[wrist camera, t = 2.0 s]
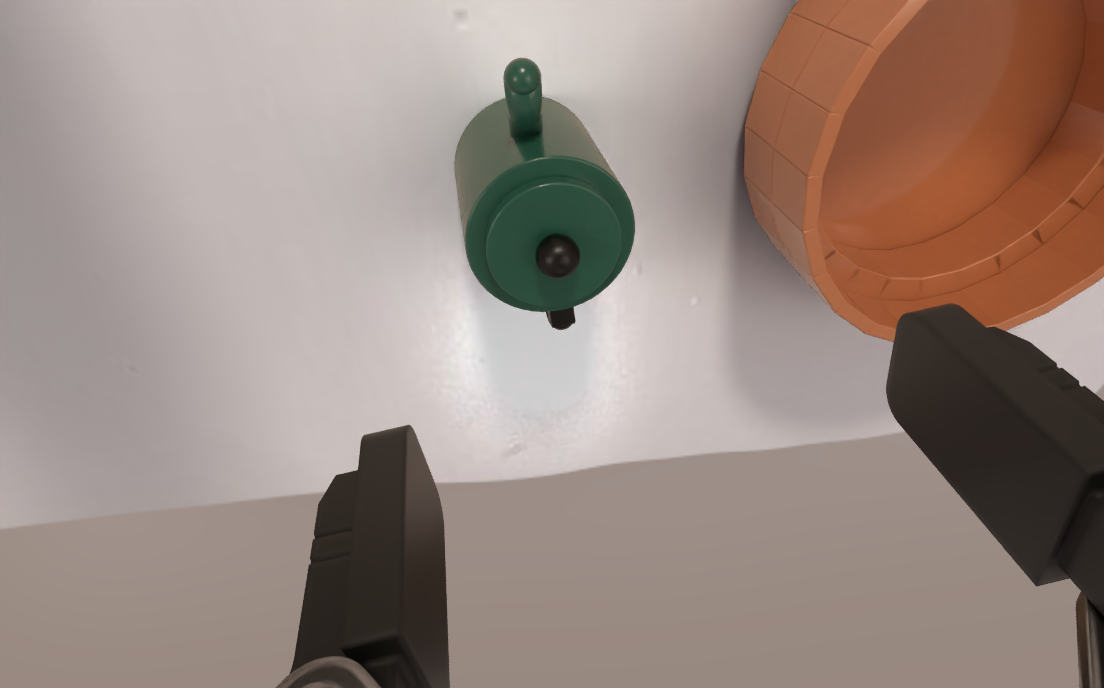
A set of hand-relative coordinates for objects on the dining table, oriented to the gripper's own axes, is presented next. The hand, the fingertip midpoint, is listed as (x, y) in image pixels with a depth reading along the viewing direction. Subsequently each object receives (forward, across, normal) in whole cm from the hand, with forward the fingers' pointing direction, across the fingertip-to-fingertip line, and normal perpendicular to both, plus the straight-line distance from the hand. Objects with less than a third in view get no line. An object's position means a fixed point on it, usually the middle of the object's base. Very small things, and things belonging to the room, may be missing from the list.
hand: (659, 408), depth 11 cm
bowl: (+18, -16, +4) cm, 25 cm away
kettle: (+18, 0, +3) cm, 18 cm away
